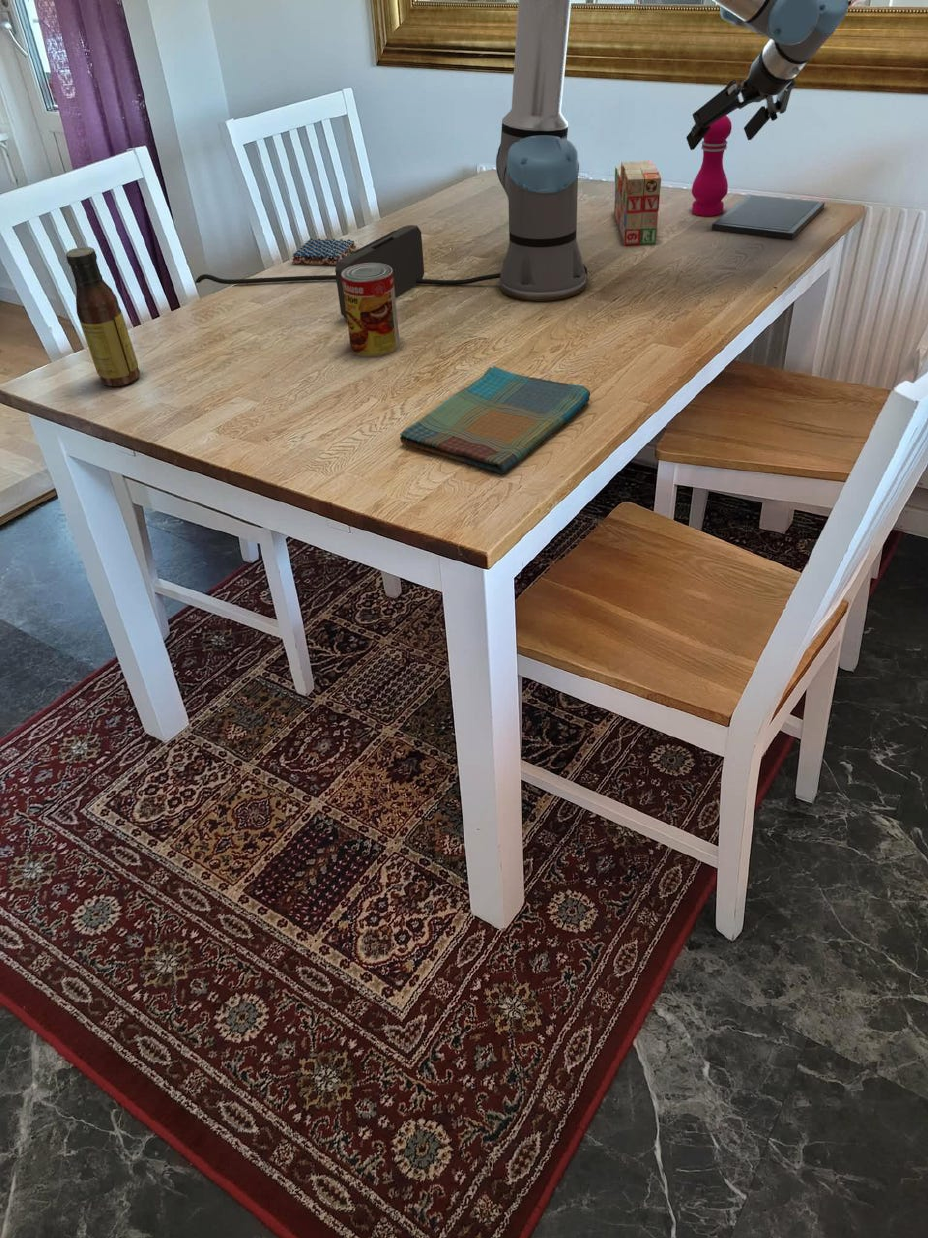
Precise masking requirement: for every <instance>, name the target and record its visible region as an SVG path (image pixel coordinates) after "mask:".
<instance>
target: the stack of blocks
mask: <svg viewBox="0 0 928 1238" xmlns="http://www.w3.org/2000/svg"><path fill="white" fill-rule="evenodd" d="M661 187H662V177H661V174H660V171H659V170H658V167H657V166H656V164H655V163H654V161H653V160H636V161H621V163H620V165H617V166H615V168H614V205H613V206H614V209H613V210H614V211H613V212H614V215H615V220H616V222H617V223H616V224H617V226H618V228H619V231H620V234H621V238H622V242H623V245H624V246H639V245H656V243H657V237H658V218H659V210H660V200H661V189H662V188H661Z"/></svg>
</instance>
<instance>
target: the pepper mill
mask: <svg viewBox="0 0 928 1238" xmlns="http://www.w3.org/2000/svg"><path fill="white" fill-rule="evenodd" d="M732 129H733V128H732V121H731V119H730V118H729V116H727V115H726V116H724V117H722V118H721V119H719V120H718V121H716V122H715V123H713V124H711V125H710V129H709V131H708V132H707V133H706V135H705V136H704V137H703V138H702V140H701V149H700V150H702V162H701V165H700V168H699V171H698V172H697V174H696V176H695V178H694V180H693V183H692V186H691V195H692V197H693V198H694V199H695V200H694V201H693V202H692V208H691V211H692V213H693V214H694V215H697V216H701V217H715V216H719V215H721V214H723V212H724V206H725V205H724V204H725V203H724V202H723V201H722V200H723V199H724V198H725V197H726V196H727V195H728V190H729V187H728V186H729V185H728V179H727V175H726V173H725V170H724V154H725V150H727V148H728V146H727V145H728V141H727V139H728V138H729V136H730V135H731V133H732Z"/></svg>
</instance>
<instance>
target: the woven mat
mask: <svg viewBox="0 0 928 1238" xmlns="http://www.w3.org/2000/svg"><path fill="white" fill-rule="evenodd" d="M356 248H357V245H356V244H355V241H354V240H351V239H350V238H349V239H347V240H343V238H341V239H339V240H336V238H333V239H332V240H330V239H328V238H325V239H321V238H317V239H314V238H309V240H306V241H305V242H304V243H302V245H301V246H300V247H298V248H297V250H294V253H292V257H291V258H292V264H293V265H299V264H302V263H303V264H306V265H311V266H312V265H313V266H315V265H316V266H321V265H323V264H328V265H330V266H335V267H336V265H337V262H339V261H340V260H341V259H343V258H344V257H346V256H348V255H350V254H352V252H354V251H356Z"/></svg>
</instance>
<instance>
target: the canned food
mask: <svg viewBox="0 0 928 1238" xmlns="http://www.w3.org/2000/svg"><path fill="white" fill-rule="evenodd" d="M341 276H342V284H343V291H344V299H345V307H346V315H347V319H346V322H347V330H348V338H349V345H350V351H351V352H353V353H354V354H355V355H358V356H363V357H380V356H381V357H382V356H386V355H389V354H391V353H394V352H395V351H397V350H398V349H399V348H400V345H401V343H400V333H399V321H398V312H397V302H396V297H395V290H394V279H393V270H392V268H391V267H390V266H388V265H386V264H381V263H364V264H358V265H353V266H350V267H348V268H346V269H345V270H343V271H342V273H341Z"/></svg>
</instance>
